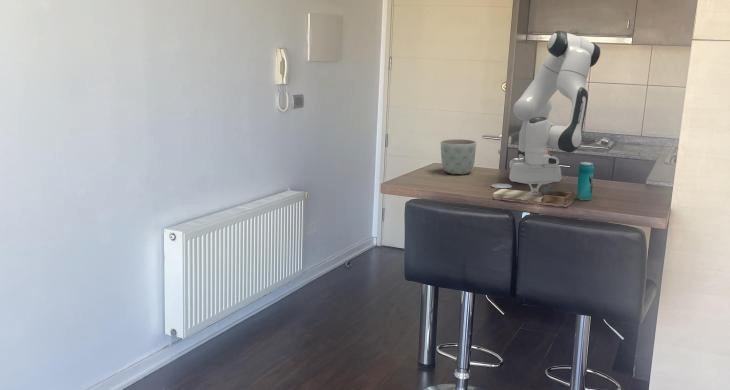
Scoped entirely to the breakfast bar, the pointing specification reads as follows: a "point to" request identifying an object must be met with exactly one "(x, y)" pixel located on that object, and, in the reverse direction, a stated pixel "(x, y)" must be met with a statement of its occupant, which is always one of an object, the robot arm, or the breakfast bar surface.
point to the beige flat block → (518, 195)
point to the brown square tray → (558, 197)
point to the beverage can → (585, 180)
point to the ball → (545, 190)
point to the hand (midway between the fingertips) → (534, 192)
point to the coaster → (501, 186)
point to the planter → (458, 155)
